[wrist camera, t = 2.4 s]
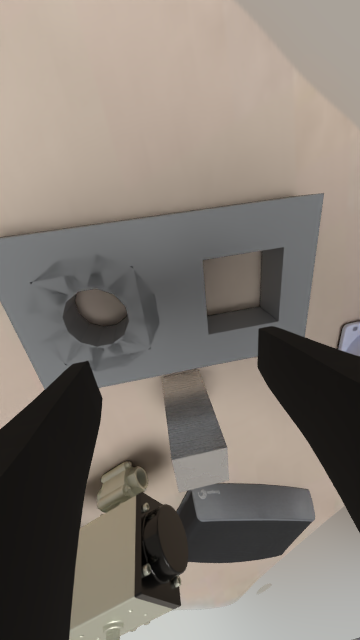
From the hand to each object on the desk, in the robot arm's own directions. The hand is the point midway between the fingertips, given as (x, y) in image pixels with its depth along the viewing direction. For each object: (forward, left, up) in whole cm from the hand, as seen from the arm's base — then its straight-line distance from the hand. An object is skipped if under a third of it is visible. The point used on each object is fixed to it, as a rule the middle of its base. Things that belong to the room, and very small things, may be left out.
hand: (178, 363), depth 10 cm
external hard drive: (-6, +35, -10) cm, 37 cm away
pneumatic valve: (+8, +21, -10) cm, 24 cm away
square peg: (0, +10, -9) cm, 14 cm away
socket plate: (0, 0, -9) cm, 9 cm away
